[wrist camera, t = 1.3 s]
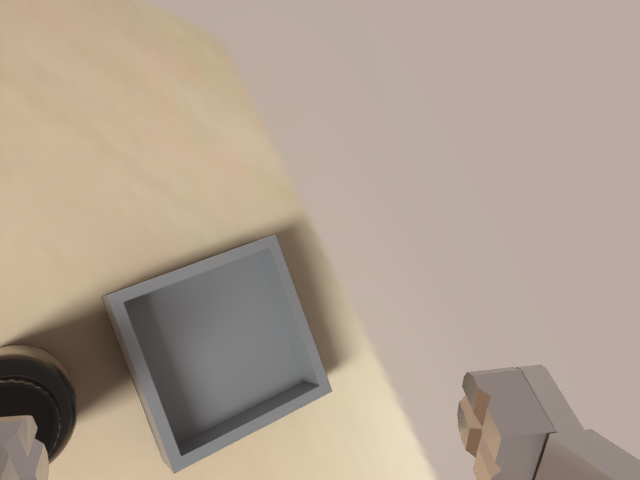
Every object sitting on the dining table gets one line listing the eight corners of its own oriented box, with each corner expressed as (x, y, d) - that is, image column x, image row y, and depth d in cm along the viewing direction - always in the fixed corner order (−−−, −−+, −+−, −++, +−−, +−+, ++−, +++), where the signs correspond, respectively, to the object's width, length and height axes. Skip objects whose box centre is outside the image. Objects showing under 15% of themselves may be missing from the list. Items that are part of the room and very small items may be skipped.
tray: (101, 296, 42) (106, 295, 39) (257, 240, 48) (275, 233, 44) (162, 460, 43) (174, 473, 39) (310, 385, 49) (332, 391, 45)
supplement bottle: (-70, 395, 38) (-115, 428, 27) (25, 323, 40) (20, 327, 30) (4, 472, 39) (-9, 534, 28) (92, 398, 42) (111, 428, 31)
